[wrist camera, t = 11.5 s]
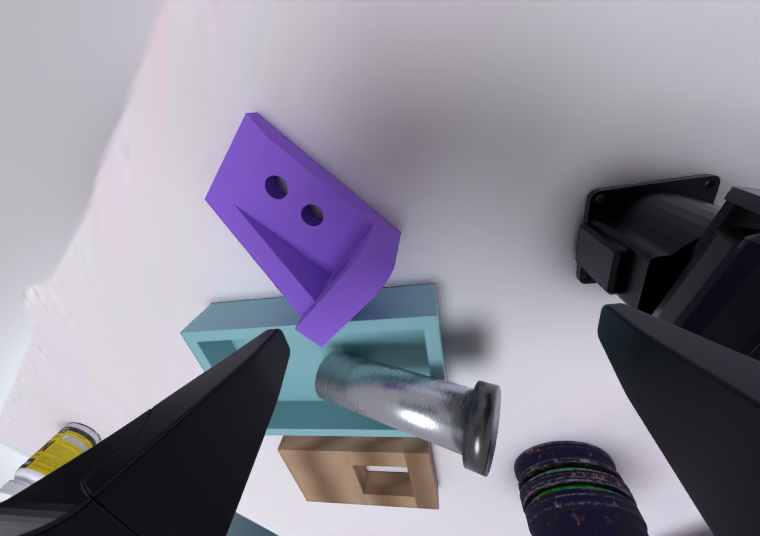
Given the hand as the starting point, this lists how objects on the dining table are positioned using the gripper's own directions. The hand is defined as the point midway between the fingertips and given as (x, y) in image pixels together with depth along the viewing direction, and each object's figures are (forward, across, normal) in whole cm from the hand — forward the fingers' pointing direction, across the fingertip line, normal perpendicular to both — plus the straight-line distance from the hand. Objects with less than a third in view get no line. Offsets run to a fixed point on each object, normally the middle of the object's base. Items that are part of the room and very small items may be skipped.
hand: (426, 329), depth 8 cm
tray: (+13, +10, +13) cm, 21 cm away
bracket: (+14, +8, 0) cm, 16 cm away
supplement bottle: (+13, +51, +26) cm, 59 cm away
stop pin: (+10, +9, +13) cm, 19 cm away
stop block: (+13, +11, +30) cm, 34 cm away
